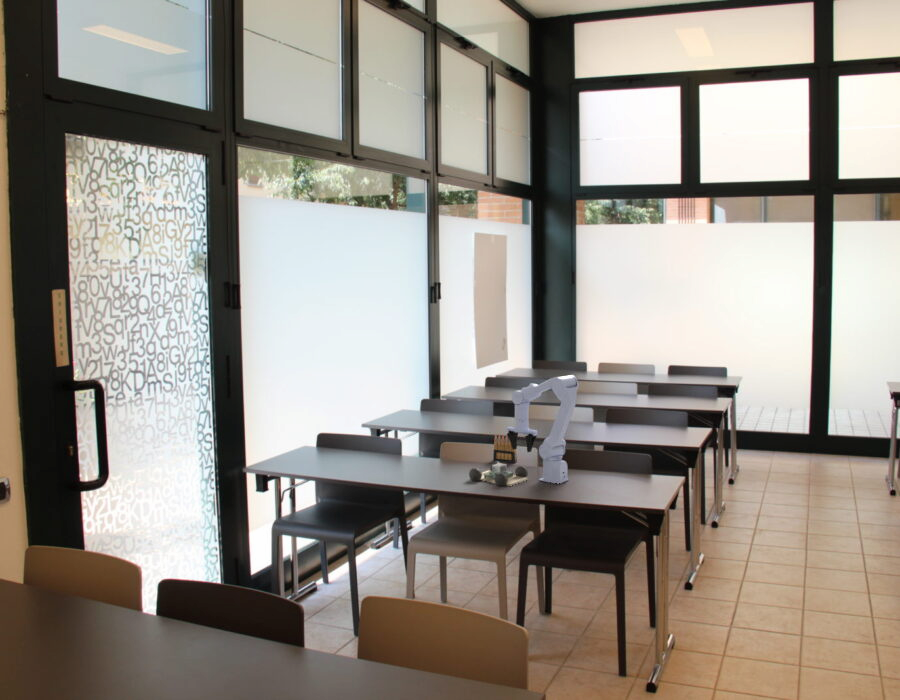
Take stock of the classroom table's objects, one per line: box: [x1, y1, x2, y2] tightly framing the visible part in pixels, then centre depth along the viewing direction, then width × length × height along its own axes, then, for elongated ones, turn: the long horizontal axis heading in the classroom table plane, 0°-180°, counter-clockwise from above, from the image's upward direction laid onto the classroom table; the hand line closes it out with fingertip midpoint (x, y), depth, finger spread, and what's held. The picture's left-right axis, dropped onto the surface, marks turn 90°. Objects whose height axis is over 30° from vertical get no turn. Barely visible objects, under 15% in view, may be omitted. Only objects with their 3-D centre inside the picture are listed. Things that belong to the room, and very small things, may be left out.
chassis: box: [468, 461, 529, 487], centre depth 347 cm, size 20×16×5 cm
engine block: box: [492, 462, 508, 475], centre depth 347 cm, size 4×5×5 cm
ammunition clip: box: [492, 433, 518, 464], centre depth 377 cm, size 11×2×12 cm, turn 61°
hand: (521, 450), depth 357 cm, fingers open, 7 cm apart
